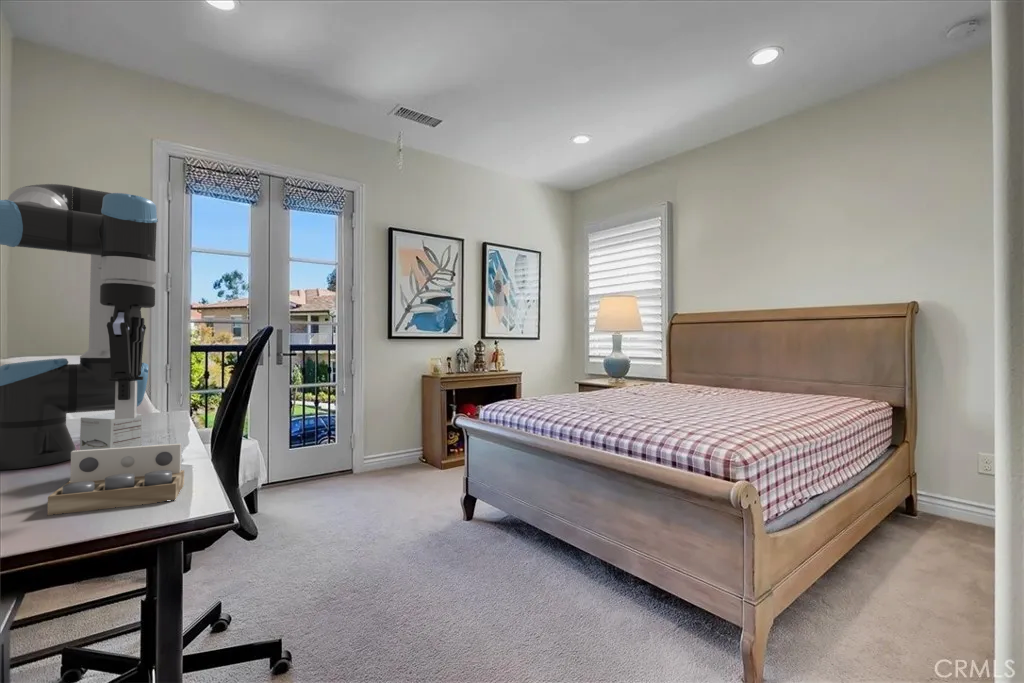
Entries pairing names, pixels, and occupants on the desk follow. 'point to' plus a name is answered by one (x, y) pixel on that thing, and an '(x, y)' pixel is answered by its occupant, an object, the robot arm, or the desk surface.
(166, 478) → the button
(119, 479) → the button
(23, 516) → the desk surface
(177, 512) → the desk surface
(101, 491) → the button board
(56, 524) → the desk surface
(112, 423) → the supplement box
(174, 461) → the card
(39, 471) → the desk surface
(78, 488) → the button
